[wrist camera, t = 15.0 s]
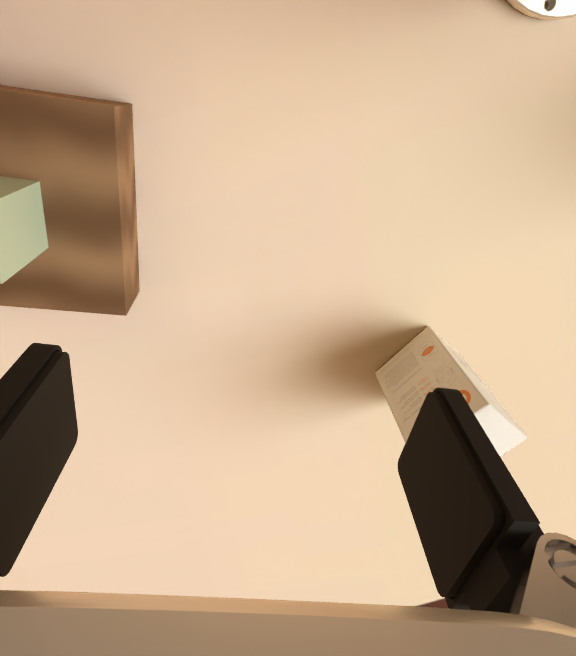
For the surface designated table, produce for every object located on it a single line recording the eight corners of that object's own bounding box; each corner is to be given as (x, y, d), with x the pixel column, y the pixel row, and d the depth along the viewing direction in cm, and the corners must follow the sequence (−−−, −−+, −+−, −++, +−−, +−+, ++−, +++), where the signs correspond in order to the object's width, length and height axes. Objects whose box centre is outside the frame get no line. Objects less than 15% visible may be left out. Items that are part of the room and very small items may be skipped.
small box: (409, 399, 50) (455, 491, 39) (373, 372, 47) (410, 461, 36) (463, 354, 47) (530, 438, 36) (428, 323, 45) (488, 402, 33)
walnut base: (-96, 71, 31) (-153, 68, 26) (132, 104, 33) (113, 106, 28) (-43, 275, 38) (-80, 299, 34) (139, 291, 40) (126, 315, 36)
